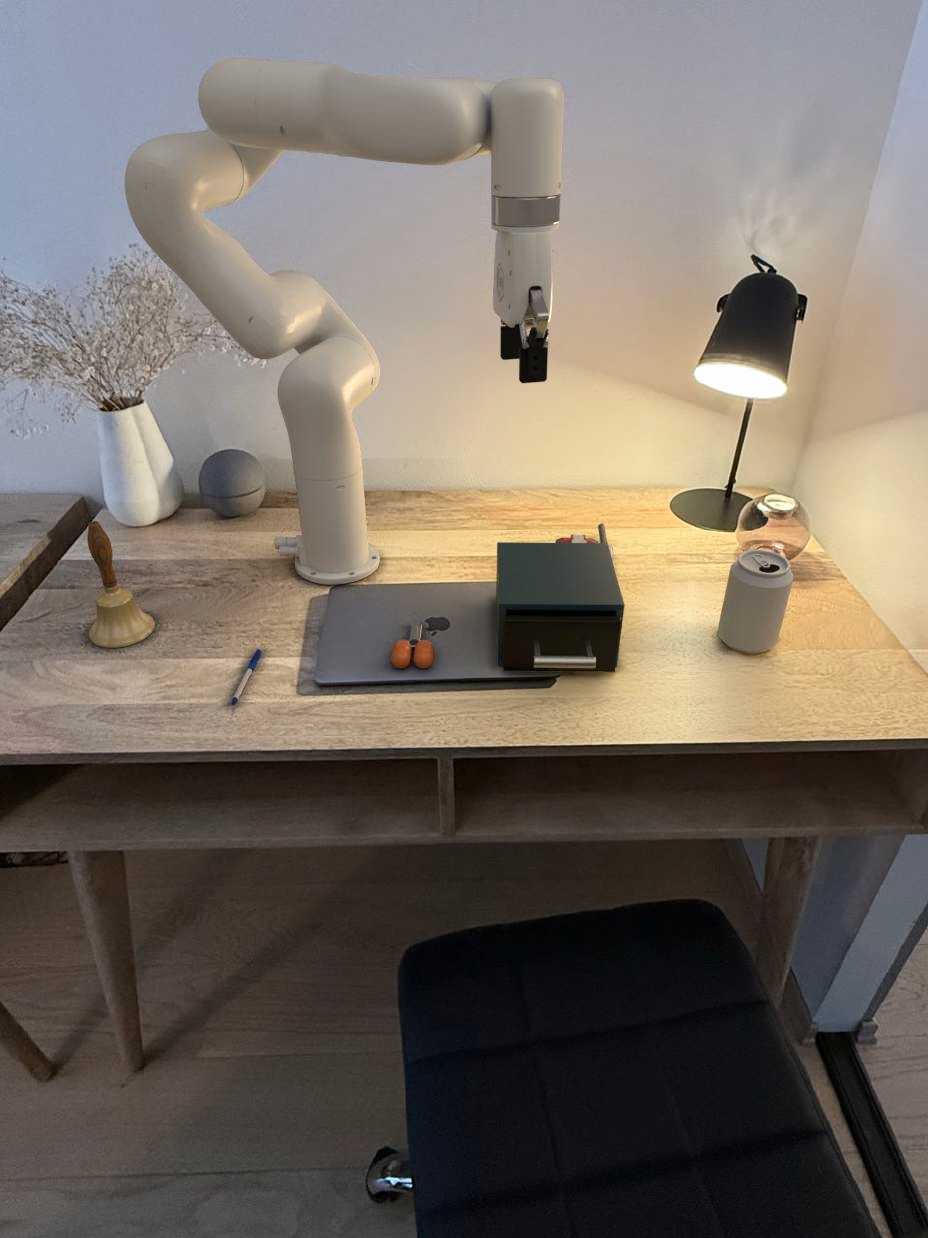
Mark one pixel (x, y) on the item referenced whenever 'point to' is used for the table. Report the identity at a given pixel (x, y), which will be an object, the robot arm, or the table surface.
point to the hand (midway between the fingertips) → (522, 369)
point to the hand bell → (114, 601)
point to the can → (755, 601)
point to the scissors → (413, 650)
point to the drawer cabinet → (555, 580)
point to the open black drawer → (560, 640)
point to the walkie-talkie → (587, 540)
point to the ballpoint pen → (246, 676)
